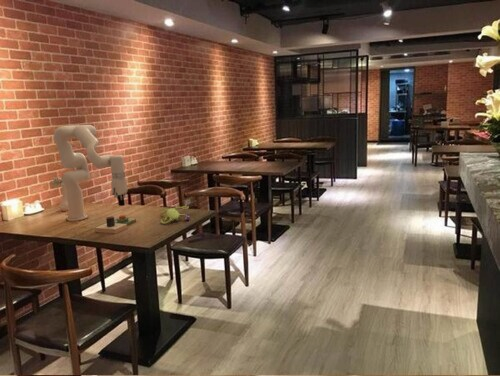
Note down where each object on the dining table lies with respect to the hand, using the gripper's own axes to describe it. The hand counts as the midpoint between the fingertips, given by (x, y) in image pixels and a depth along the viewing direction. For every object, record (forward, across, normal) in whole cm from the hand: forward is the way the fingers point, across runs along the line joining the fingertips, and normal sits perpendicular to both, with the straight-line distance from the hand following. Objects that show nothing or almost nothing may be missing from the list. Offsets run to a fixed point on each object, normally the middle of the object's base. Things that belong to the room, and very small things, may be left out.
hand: (121, 205), depth 258 cm
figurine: (+12, -18, +26) cm, 33 cm away
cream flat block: (+12, +14, +2) cm, 18 cm away
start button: (+8, 0, 0) cm, 8 cm away
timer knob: (+9, +14, +2) cm, 17 cm away
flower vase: (+11, -22, -64) cm, 69 cm away
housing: (+11, 0, 0) cm, 11 cm away
